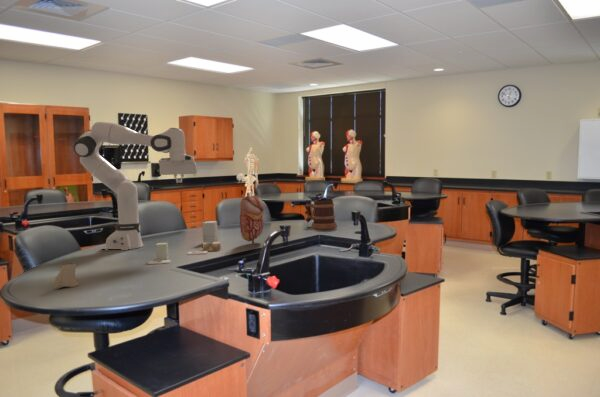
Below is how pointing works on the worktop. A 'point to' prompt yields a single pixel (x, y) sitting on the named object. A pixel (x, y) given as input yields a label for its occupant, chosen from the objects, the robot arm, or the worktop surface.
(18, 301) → the worktop surface
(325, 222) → the mug
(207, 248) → the maple block
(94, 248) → the worktop surface
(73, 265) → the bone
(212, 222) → the supplement box
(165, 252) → the sage block
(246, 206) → the anatomical model
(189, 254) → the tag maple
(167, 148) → the robot arm
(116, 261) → the worktop surface
